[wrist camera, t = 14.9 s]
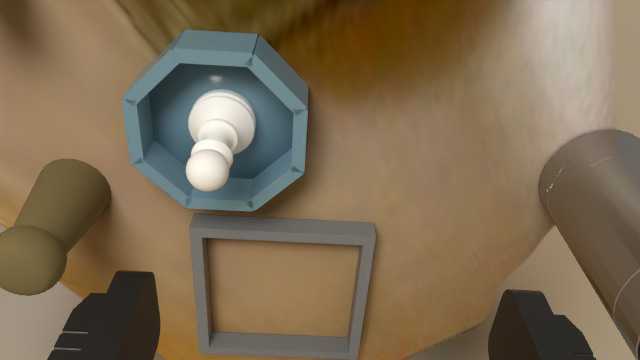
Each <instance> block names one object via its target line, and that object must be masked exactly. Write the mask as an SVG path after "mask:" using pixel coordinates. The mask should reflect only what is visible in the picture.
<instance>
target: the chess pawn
mask: <svg viewBox="0 0 640 360" xmlns="http://www.w3.org/2000/svg"><path fill="white" fill-rule="evenodd" d="M188 127H189V131H190V134H191V136H192V138H193V140H194V141H195V142H196V144H195V145H194V147H193V148H192V151H191V157H190V158H189V160H188V162H187V165H186V175H187V179H188V180H189V182H190V184H192V185H193V186H194V187H195V188H197V189H198V190H201V191H207V192H208V191H214V190H217V189H219V188H220V187H222V186H223V185H224V184H225V182H226V181H227V179H228V176H229V168H230V167H231V165H232V163H233V155H234V154H237V153H240V152H241V151H243V150H244V149H246V148H247V147H248V145H249V144H250V143H251V142H252V139H253V137H254V134H255V129H256V115H255V111H254V109H253V107H252V105H251V104H250V103H249V102H248V100H247V99H246V98H244V97H243V96H241V95H240V94H239V93H236V92H233V91H231V90H224V89H218V90H212V91H209V92H207V93H205V94H203V95H202V96H201V97H199V98H198V100H197V101H196V102H195V104H194V106H193V108H192V110H191V113H190V115H189V118H188Z"/></svg>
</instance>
